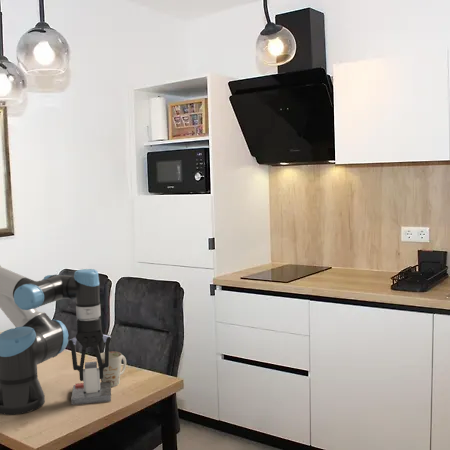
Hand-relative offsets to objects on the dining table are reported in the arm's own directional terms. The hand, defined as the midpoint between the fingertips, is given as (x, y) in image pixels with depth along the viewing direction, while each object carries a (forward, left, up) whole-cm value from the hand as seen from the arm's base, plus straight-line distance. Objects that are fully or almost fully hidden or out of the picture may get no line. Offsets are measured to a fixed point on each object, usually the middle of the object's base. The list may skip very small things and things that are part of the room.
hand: (92, 389), depth 187 cm
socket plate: (0, 0, -2) cm, 2 cm away
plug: (0, 0, 0) cm, 1 cm away
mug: (+7, +11, -2) cm, 14 cm away
